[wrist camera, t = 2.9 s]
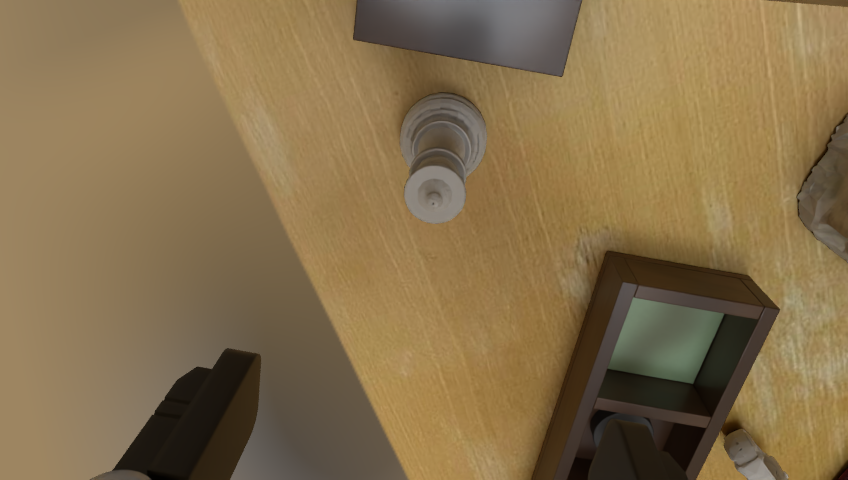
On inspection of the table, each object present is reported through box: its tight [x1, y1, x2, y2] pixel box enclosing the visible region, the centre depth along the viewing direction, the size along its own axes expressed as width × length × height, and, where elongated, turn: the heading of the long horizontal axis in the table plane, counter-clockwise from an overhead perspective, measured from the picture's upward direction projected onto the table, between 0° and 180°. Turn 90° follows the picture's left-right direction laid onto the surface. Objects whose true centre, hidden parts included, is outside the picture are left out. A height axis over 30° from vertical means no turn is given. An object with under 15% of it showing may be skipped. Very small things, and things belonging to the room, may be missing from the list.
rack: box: [532, 251, 780, 480], centre depth 35 cm, size 8×22×4 cm, turn 171°
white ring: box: [724, 429, 788, 480], centre depth 35 cm, size 4×2×4 cm, turn 42°
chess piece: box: [400, 92, 487, 224], centre depth 25 cm, size 4×4×10 cm
